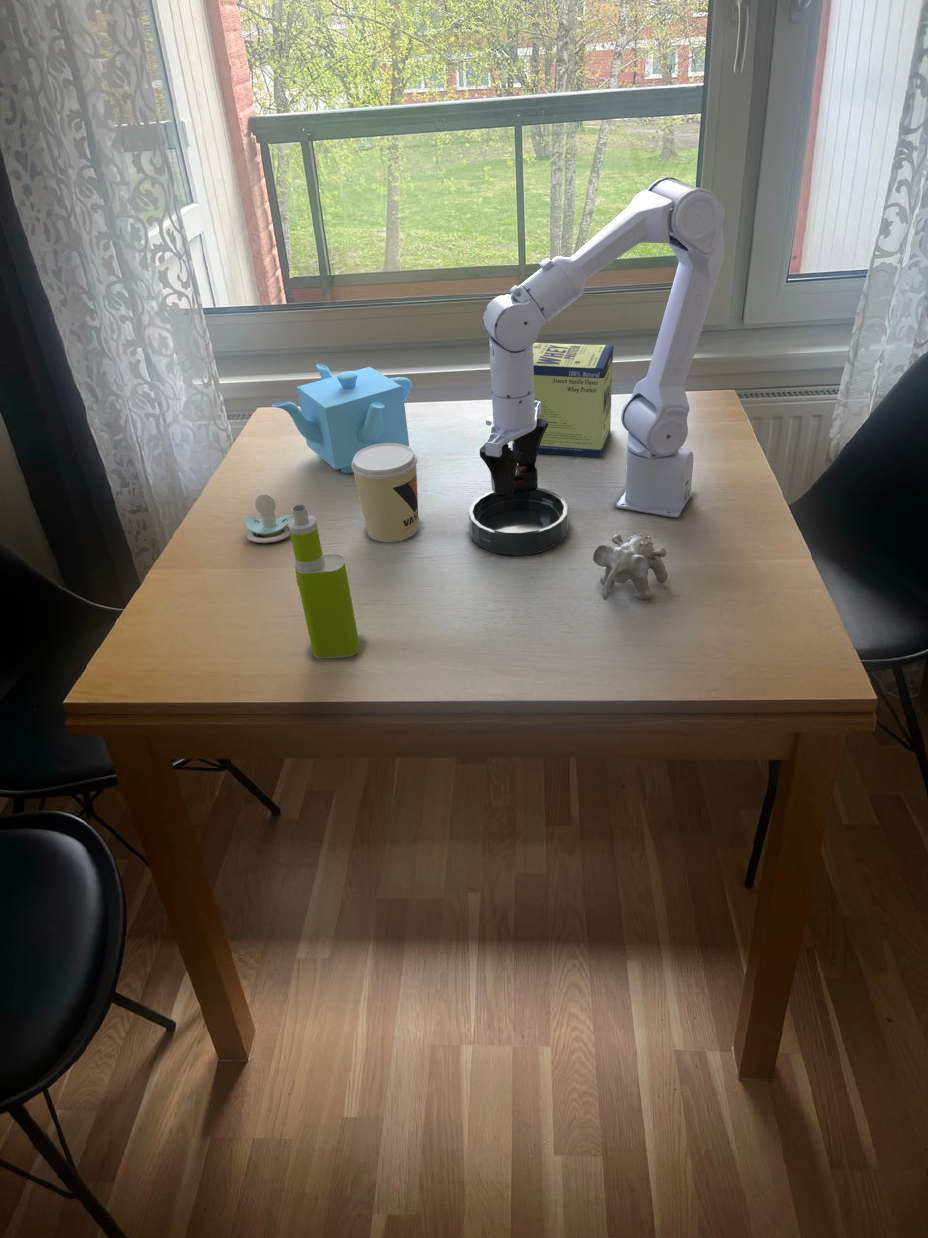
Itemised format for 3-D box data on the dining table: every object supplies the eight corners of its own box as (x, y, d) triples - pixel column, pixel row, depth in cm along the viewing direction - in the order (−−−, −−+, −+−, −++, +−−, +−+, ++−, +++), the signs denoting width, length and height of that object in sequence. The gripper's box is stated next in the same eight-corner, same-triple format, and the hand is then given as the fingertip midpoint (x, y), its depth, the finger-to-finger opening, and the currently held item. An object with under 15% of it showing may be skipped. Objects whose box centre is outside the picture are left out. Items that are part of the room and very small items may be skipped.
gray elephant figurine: (668, 572, 120) (672, 523, 116) (661, 625, 111) (665, 574, 106) (599, 567, 122) (600, 518, 118) (586, 618, 113) (587, 567, 109)
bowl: (581, 516, 134) (581, 494, 132) (545, 564, 124) (545, 542, 122) (495, 500, 139) (494, 480, 137) (454, 546, 129) (452, 524, 127)
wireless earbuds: (544, 490, 127) (543, 469, 125) (496, 499, 126) (494, 478, 124) (534, 476, 131) (533, 455, 129) (487, 484, 130) (486, 464, 128)
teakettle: (423, 435, 161) (415, 354, 152) (393, 484, 146) (382, 398, 138) (324, 431, 165) (311, 353, 156) (285, 478, 151) (268, 395, 142)
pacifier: (290, 544, 133) (297, 523, 138) (282, 508, 129) (289, 487, 134) (242, 547, 134) (250, 525, 138) (232, 510, 130) (241, 490, 134)
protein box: (602, 458, 149) (605, 367, 140) (511, 452, 153) (508, 363, 144) (612, 431, 157) (615, 344, 148) (525, 426, 161) (522, 341, 152)
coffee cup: (415, 546, 130) (407, 472, 123) (354, 543, 132) (342, 470, 125) (430, 514, 137) (422, 442, 130) (371, 512, 139) (361, 441, 132)
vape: (313, 640, 113) (284, 500, 101) (360, 638, 113) (336, 497, 101) (309, 659, 110) (278, 517, 98) (358, 656, 110) (332, 514, 98)
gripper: (507, 367, 126) (511, 455, 134) (462, 407, 116) (469, 500, 124) (554, 372, 124) (555, 462, 132) (511, 414, 113) (515, 508, 121)
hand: (516, 481), depth 128 cm, fingers closed on wireless earbuds, 7 cm apart
